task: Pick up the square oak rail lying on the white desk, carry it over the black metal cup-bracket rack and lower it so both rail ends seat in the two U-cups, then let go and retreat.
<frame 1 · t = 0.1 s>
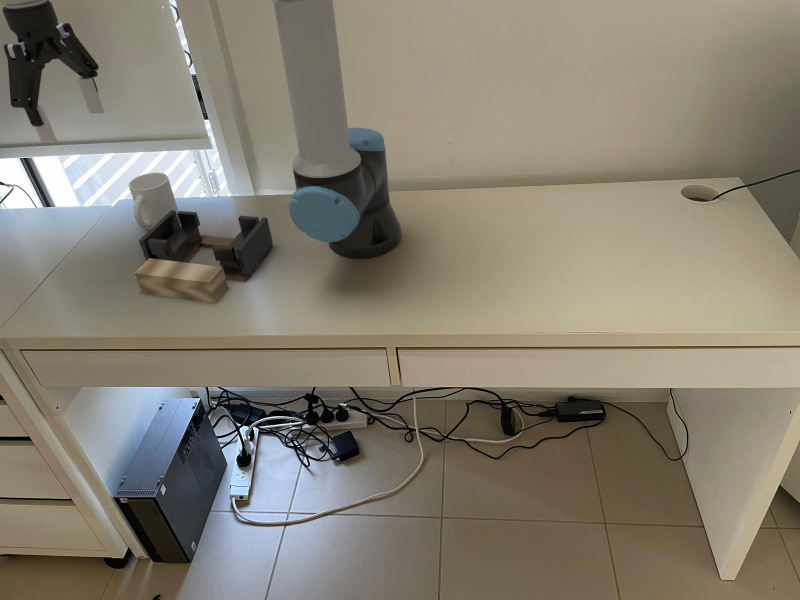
hand: (74, 126, 118), 28 cm above the table, fingers open, 13 cm apart
mug: (158, 227, 143), on the table
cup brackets: (212, 258, 131), on the table
rail: (185, 291, 123), on the table
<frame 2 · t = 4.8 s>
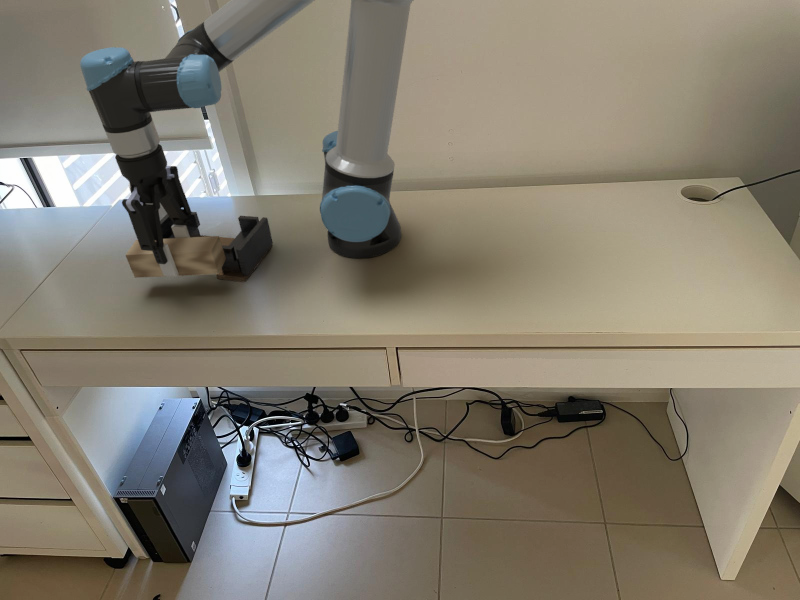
hand: (180, 264, 119), 6 cm above the table, fingers closed on rail, 6 cm apart
rail: (180, 268, 119), point 5 cm above the table, touching gripper
everything else where it was.
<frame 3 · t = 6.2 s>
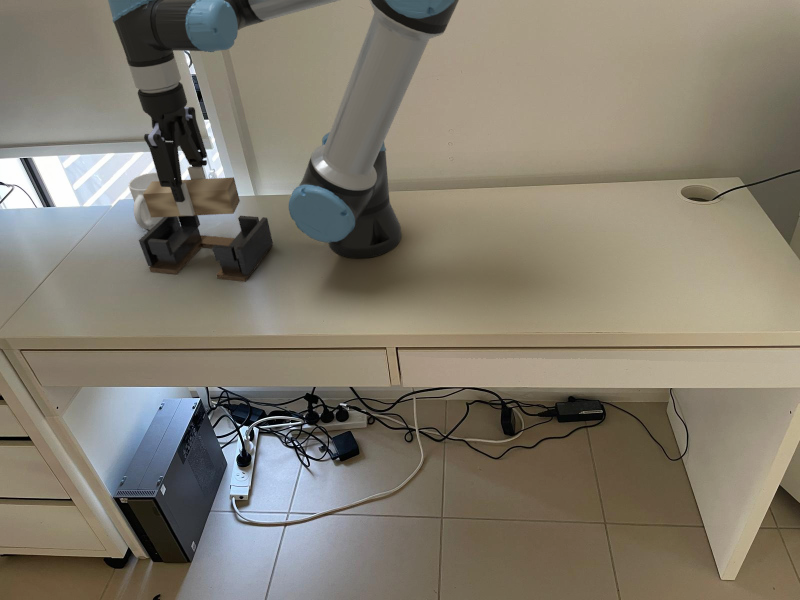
hand: (195, 205, 122), 13 cm above the table, fingers closed on rail, 6 cm apart
rail: (196, 209, 123), point 12 cm above the table, touching gripper
everything else where it was.
when the fingers open (5 cm above the table, at t = 7.8 s): rail stays where it is, resting on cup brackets.
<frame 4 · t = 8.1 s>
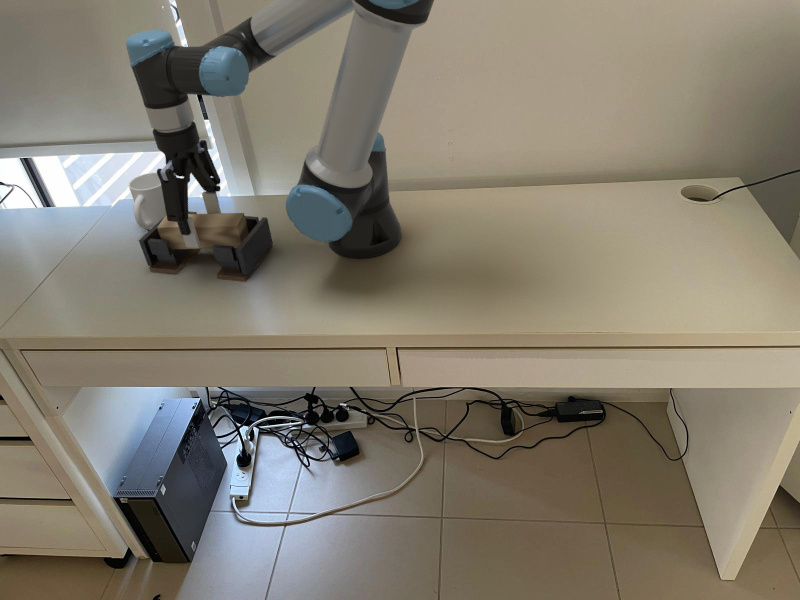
hand: (205, 233, 127), 6 cm above the table, fingers open, 9 cm apart
rail: (207, 241, 128), point 4 cm above the table, touching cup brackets
everything else where it was.
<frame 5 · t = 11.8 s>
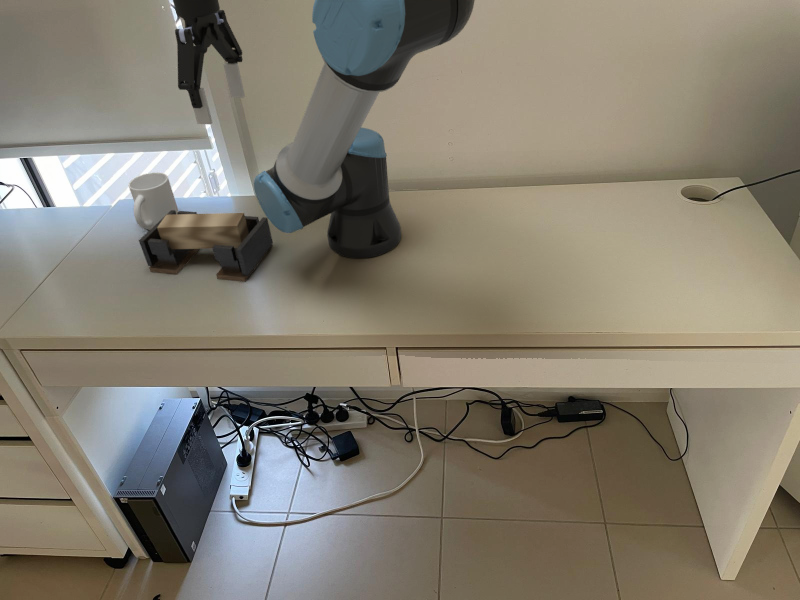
hand: (222, 109, 123), 27 cm above the table, fingers open, 13 cm apart
nothing on the table moved.
at the end: rail 0.1 cm off-centre on the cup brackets, point 4.0 cm above the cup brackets's base; the gripper is holding nothing; rail touching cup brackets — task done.
